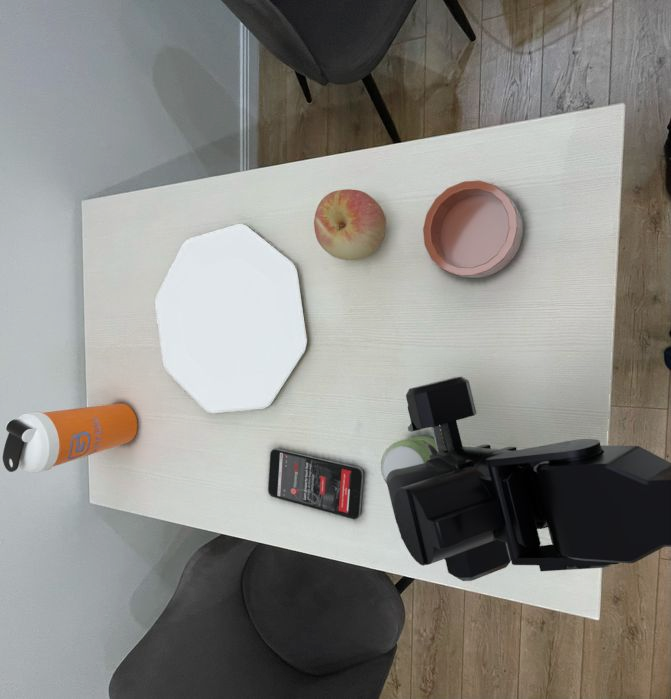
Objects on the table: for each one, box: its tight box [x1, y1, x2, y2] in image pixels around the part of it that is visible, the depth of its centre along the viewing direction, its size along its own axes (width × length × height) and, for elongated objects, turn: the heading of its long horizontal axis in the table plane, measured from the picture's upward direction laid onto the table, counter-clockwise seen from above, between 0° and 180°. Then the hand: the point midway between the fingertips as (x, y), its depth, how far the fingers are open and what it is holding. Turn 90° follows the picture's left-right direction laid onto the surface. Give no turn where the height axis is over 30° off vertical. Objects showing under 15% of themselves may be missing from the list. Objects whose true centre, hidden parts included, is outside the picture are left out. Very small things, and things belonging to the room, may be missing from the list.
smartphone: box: [267, 447, 365, 520], centre depth 77 cm, size 7×1×15 cm
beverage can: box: [380, 434, 446, 484], centre depth 64 cm, size 6×7×12 cm
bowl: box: [422, 180, 524, 279], centre depth 63 cm, size 11×11×4 cm
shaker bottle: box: [2, 402, 139, 474], centre depth 86 cm, size 9×9×20 cm
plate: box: [154, 223, 309, 414], centre depth 82 cm, size 28×28×2 cm
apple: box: [313, 188, 387, 262], centre depth 68 cm, size 9×9×8 cm
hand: (421, 468), depth 60 cm, fingers open, 9 cm apart
